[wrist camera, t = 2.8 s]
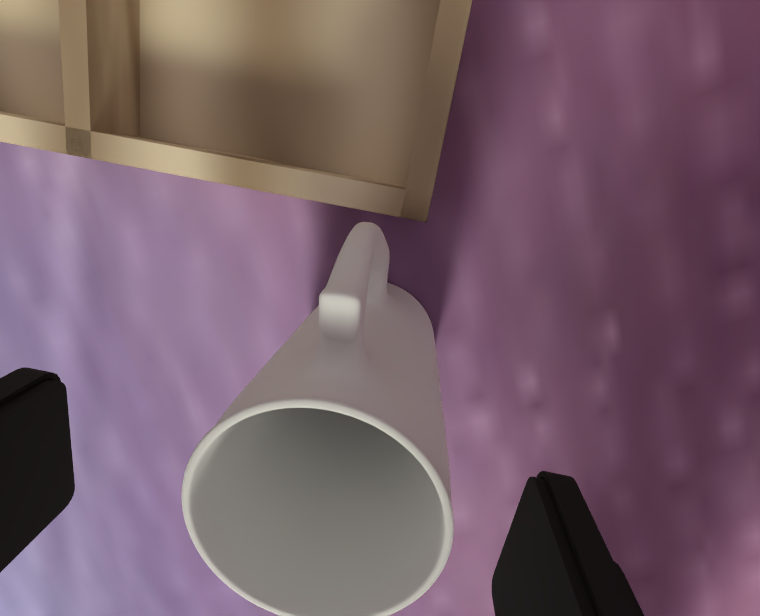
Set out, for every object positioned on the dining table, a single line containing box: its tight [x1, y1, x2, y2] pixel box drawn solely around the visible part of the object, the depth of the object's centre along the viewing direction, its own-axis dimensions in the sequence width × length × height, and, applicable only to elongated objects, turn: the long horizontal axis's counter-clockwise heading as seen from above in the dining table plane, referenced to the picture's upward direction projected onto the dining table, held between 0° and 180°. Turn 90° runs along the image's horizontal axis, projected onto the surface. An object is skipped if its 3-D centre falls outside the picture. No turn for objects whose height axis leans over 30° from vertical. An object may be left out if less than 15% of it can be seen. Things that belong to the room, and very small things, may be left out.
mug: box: [182, 222, 454, 616], centre depth 16 cm, size 10×7×12 cm, turn 174°
